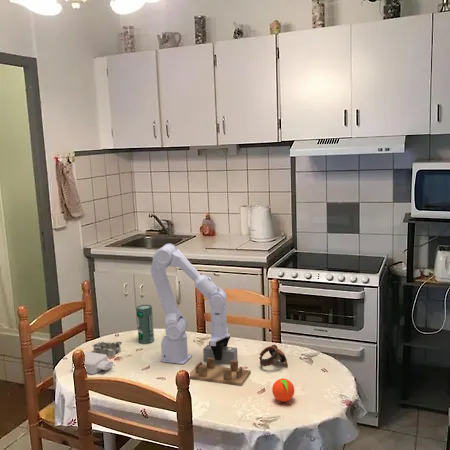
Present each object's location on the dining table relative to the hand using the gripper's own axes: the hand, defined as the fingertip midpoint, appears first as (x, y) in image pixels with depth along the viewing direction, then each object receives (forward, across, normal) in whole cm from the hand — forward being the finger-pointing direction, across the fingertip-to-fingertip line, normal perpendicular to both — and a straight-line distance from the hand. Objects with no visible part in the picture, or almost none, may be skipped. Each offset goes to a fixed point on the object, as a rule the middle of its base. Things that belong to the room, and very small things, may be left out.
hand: (220, 357), depth 192 cm
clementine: (+2, -23, -30) cm, 38 cm away
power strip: (+2, 0, 0) cm, 2 cm away
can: (+2, +10, +37) cm, 38 cm away
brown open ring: (+2, +2, -20) cm, 20 cm away
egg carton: (+2, -4, +47) cm, 47 cm away
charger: (+2, -19, +41) cm, 46 cm away
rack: (+1, -12, -4) cm, 13 cm away
